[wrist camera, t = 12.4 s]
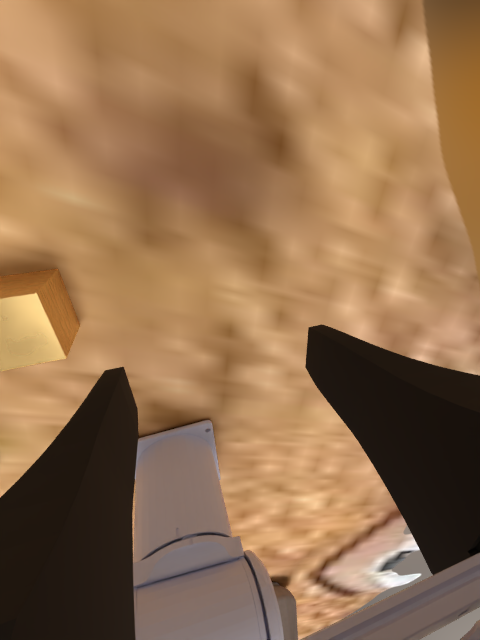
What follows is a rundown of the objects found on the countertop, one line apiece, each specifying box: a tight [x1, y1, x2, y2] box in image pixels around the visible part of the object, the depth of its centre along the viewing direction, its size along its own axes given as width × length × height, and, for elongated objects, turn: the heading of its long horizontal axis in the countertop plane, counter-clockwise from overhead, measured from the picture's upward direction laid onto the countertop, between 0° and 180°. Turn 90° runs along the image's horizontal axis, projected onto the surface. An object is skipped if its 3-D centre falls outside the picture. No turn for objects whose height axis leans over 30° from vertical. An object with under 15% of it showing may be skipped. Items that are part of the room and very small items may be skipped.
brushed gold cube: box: [0, 269, 80, 372], centre depth 16 cm, size 4×4×4 cm
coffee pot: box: [272, 582, 298, 640], centre depth 44 cm, size 21×12×15 cm, turn 129°
